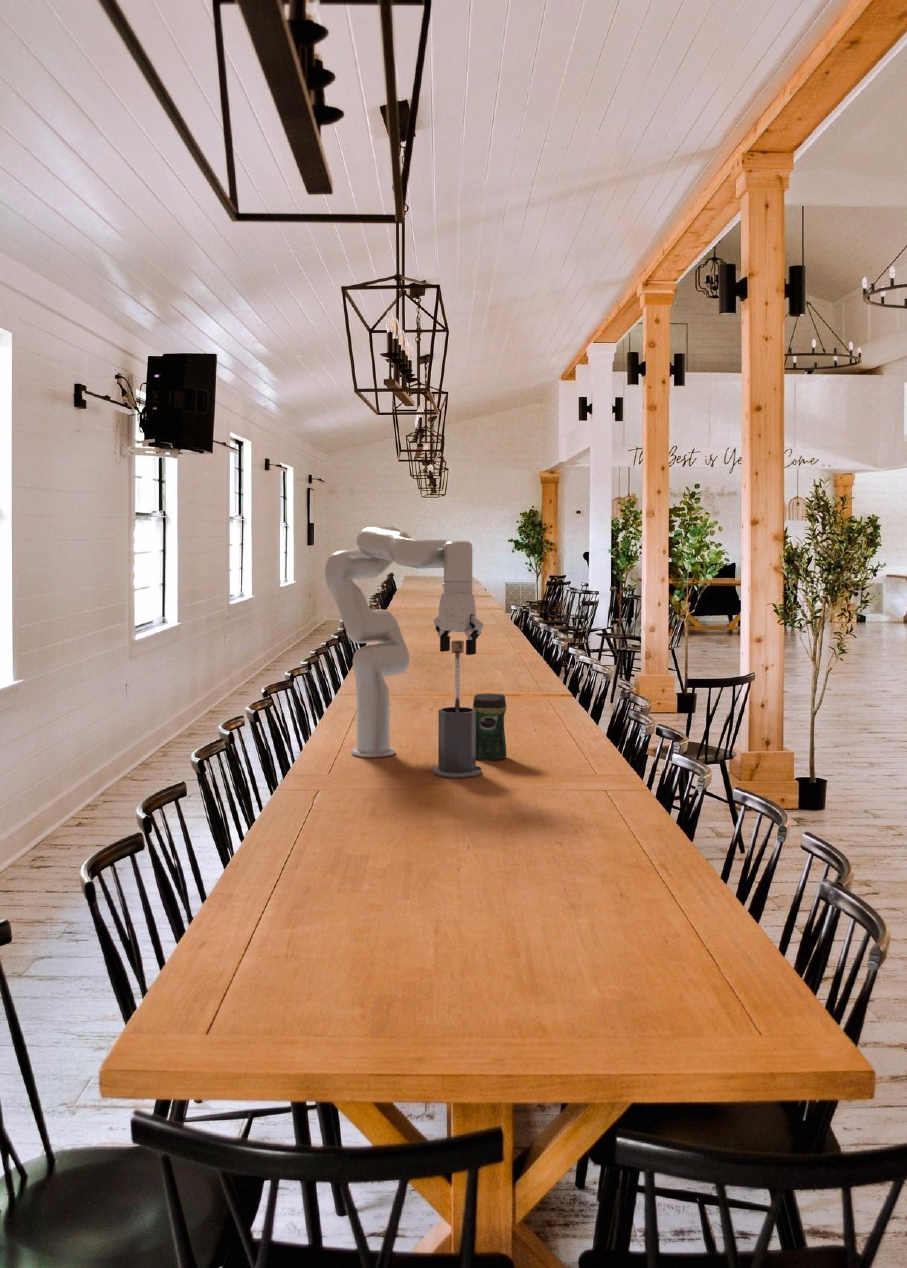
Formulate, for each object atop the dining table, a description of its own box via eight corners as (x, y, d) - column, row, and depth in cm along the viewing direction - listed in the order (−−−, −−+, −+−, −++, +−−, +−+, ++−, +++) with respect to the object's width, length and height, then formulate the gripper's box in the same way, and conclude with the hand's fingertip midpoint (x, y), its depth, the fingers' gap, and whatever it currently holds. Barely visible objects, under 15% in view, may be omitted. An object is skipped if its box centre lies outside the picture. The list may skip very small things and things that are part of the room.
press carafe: (423, 768, 283) (423, 707, 281) (466, 764, 288) (466, 703, 286) (445, 780, 270) (445, 716, 268) (489, 775, 275) (490, 712, 274)
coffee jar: (507, 755, 299) (508, 691, 297) (504, 761, 292) (505, 696, 290) (474, 754, 301) (474, 690, 299) (470, 760, 293) (471, 695, 291)
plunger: (439, 722, 279) (439, 640, 276) (463, 720, 282) (463, 639, 279) (450, 727, 272) (451, 643, 270) (475, 725, 275) (475, 641, 273)
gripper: (424, 587, 276) (424, 651, 278) (472, 590, 264) (471, 657, 266) (444, 586, 282) (444, 648, 284) (492, 589, 270) (491, 654, 272)
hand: (457, 652), depth 275 cm, fingers open, 9 cm apart
